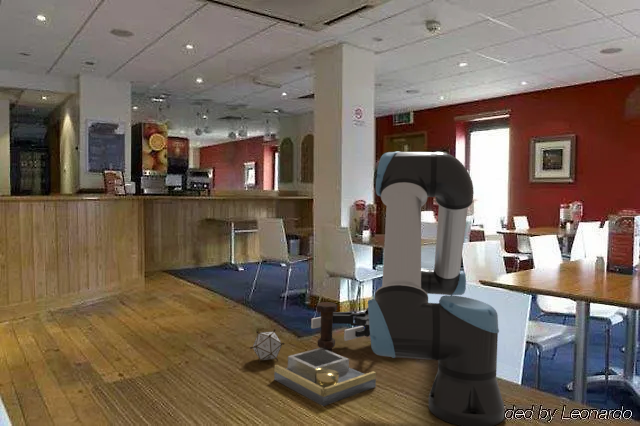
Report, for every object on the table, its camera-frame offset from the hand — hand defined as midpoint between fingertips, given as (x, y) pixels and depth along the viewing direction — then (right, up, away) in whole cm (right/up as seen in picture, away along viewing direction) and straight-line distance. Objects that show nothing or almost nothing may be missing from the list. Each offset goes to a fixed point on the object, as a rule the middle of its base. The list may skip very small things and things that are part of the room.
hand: (327, 329), depth 131 cm
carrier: (-1, -9, -17) cm, 19 cm away
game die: (-16, -8, -2) cm, 18 cm away
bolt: (0, -8, 0) cm, 8 cm away
